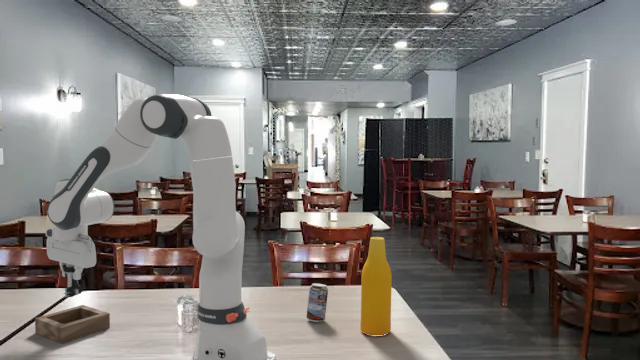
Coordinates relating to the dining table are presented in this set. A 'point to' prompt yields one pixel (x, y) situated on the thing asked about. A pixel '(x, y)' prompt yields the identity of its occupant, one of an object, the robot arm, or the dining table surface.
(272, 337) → the dining table surface
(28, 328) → the dining table surface
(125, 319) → the dining table surface
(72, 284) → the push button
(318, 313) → the beverage can
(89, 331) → the wooden tray
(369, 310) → the beer bottle
